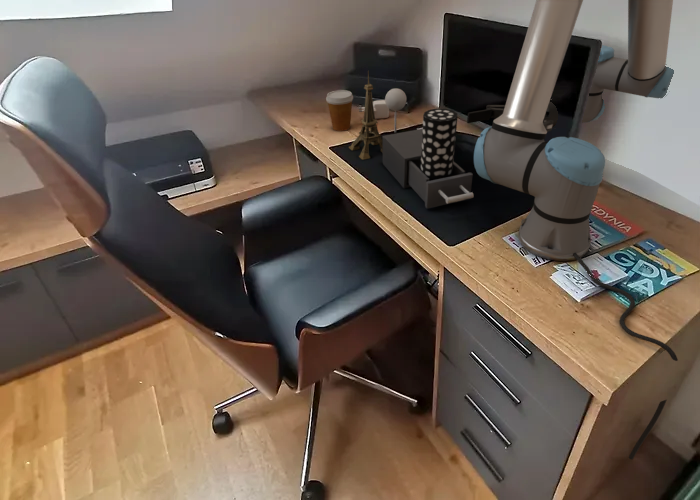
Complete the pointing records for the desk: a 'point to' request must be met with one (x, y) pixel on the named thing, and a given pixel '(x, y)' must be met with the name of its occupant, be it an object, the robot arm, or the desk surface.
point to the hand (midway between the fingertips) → (481, 127)
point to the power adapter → (379, 109)
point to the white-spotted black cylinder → (438, 143)
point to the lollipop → (395, 101)
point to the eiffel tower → (368, 122)
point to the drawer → (439, 185)
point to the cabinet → (401, 153)
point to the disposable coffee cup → (340, 108)
